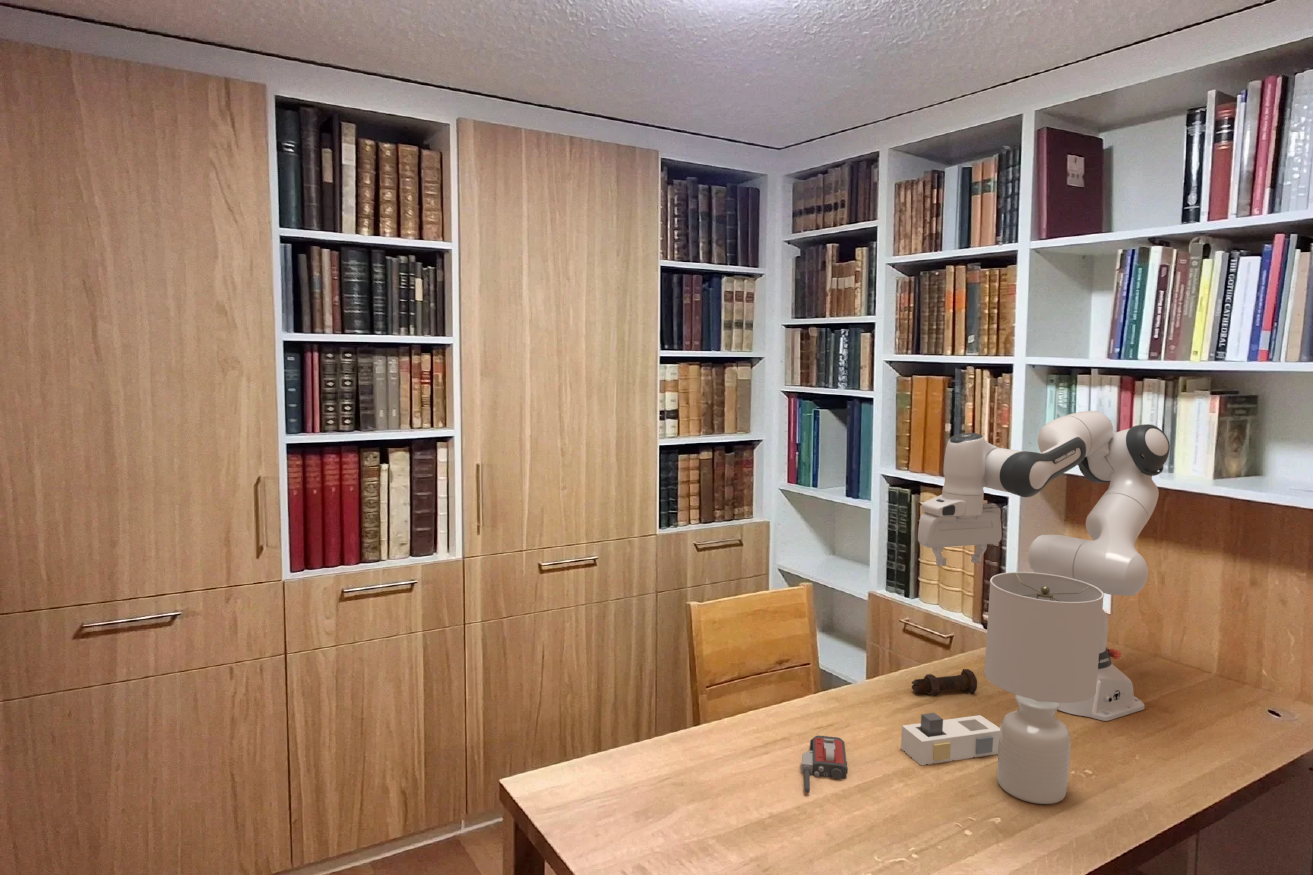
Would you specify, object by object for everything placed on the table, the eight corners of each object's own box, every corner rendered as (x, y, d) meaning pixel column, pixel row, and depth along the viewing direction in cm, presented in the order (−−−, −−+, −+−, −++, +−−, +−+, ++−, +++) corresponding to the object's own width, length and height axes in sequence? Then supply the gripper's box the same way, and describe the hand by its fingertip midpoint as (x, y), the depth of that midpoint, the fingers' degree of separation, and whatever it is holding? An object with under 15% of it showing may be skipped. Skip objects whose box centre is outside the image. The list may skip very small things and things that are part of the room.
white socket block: (978, 737, 173) (980, 714, 172) (1003, 754, 165) (1004, 731, 165) (900, 748, 167) (901, 725, 167) (922, 766, 160) (923, 742, 159)
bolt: (911, 700, 195) (969, 694, 197) (920, 698, 190) (979, 692, 193) (906, 675, 197) (963, 669, 199) (915, 672, 192) (973, 667, 195)
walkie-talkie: (801, 745, 169) (800, 797, 149) (801, 724, 168) (801, 774, 149) (844, 749, 167) (849, 802, 148) (845, 729, 167) (850, 780, 147)
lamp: (1085, 828, 140) (1103, 609, 136) (970, 798, 149) (983, 591, 145) (1088, 779, 156) (1104, 581, 152) (984, 753, 165) (996, 566, 161)
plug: (931, 749, 167) (934, 712, 166) (940, 756, 164) (943, 719, 163) (919, 751, 166) (921, 714, 165) (928, 758, 163) (930, 720, 162)
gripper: (991, 500, 190) (987, 557, 192) (915, 503, 184) (912, 563, 186) (1010, 505, 184) (1006, 564, 186) (932, 509, 178) (928, 570, 180)
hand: (958, 564), depth 186 cm, fingers open, 8 cm apart
